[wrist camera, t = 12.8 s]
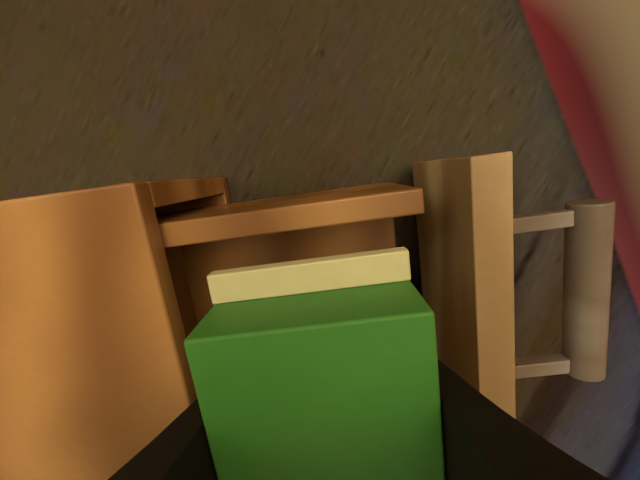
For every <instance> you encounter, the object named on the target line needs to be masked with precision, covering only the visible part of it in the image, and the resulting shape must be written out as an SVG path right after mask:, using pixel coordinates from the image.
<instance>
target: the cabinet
mask: <svg viewBox="0 0 640 480" xmlns="http://www.w3.org/2000/svg"><path fill="white" fill-rule="evenodd" d="M229 203H231V201H230V196H229V190H228V185H227V180H226V178H225V177H216V178H197V179H178V180H158V181H141V182H128V183H121V184H114V185H107V186H100V187H93V188H86V189H79V190H72V191H65V192H59V193H52V194H45V195H38V196H31V197H24V198H17V199H10V200H3V201H0V480H108V479H109V478H110V477H111V476H112V475H113V474H114V473H116V472H117V471H118V470H119V469H120V468H121V467H122V466H124V465H125V464H126V463H127V462H128V461H129V460H131V459H132V458H133V457H134V456H135V455H136V454H137V453H139V452H140V451H141V450H142V449H143V448H144V447H145V446H147V445H148V444H149V443H150V442H151V441H152V440H153V439H154V438H155V437H157V436H158V435H159V434H160V433H161V432H162V431H163V430H164V429H165V428H166V427H167V426H168V425H169V424H170V423H172V422H173V421H174V420H175V419H176V418H177V417H178V416H179V415H180V414H181V413H182V412H183V411H184V410H185V409H186V408H188V407H189V406H190V405H191V404H192V403H193V402H194V401H195V400H196V399H197V395H196V391H195V387H194V383H193V379H192V375H191V371H190V367H189V363H188V359H187V355H186V351H185V347H184V340H185V339H186V335H185V330H184V326H183V322H182V318H181V314H180V310H179V306H178V302H177V298H176V294H175V290H174V286H173V282H172V278H171V274H170V270H169V266H168V262H167V258H166V254H165V249H164V245H163V241H162V237H161V233H160V229H159V225H158V221H157V217H156V215H157V214H161V213H165V212H172V211H179V210H186V209H193V208H201V207H208V206H215V205H222V204H229Z"/></svg>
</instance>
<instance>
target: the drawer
mask: <svg viewBox="0 0 640 480" xmlns="http://www.w3.org/2000/svg"><path fill="white" fill-rule="evenodd" d="M412 165H413V178H414V187H413V186H407V185H401V184H396V183H390V182H381V183H374V184H367V185H360V186H352V187H345V188H338V189H331V190H323V191H316V192H309V193H302V194H294V195H287V196H280V197H273V198H266V199H258V200H251V201H244V202H237V203H229V204H222V205H215V206H208V207H201V208H193V209H186V210H179V211H172V212H165V213H161V214H157V215H156V217H157V221H158V225H159V229H160V233H161V237H162V241H163V245H164V249H165V254H166V258H167V262H168V266H169V270H170V274H171V278H172V282H173V286H174V290H175V294H176V298H177V302H178V306H179V310H180V314H181V318H182V322H183V326H184V330H185V335H186V338H187V337H188V335H189V334H190V333H191V332H192V331H193V330H194V328H195V327H196V326H197V325H198V324H199V322H200V321H201V320H202V319H203V318H204V316H205V315H206V314H207V313H208V312H209V311H210V309H211V308H212V307H213V306H214V305H215V304H213V303H212V299H211V295H210V290H209V286H208V282H207V276H208V275H209V274H210V273H211V272H212V271H217V270H225V269H233V268H241V267H248V266H256V265H264V264H272V263H280V262H287V261H295V260H303V259H311V258H319V257H326V256H334V255H342V254H350V253H358V252H365V251H373V250H381V249H389V248H396V239H395V228H394V218H395V217H403V216H410V215H416V218H417V231H418V245H419V258H420V271H421V284H422V297H423V298H424V300H425V301H426V302H427V304H428V305H429V306H430V308H431V309H432V310H433V312H434V314H435V328H436V343H437V358H438V359H439V360H440V361H441V362H443V363H444V364H445V365H446V366H448V367H449V368H450V369H451V370H452V371H454V372H455V373H456V374H457V375H459V376H460V377H461V378H462V379H464V380H465V381H466V382H467V383H469V384H470V385H471V386H472V387H474V388H475V389H476V390H477V391H479V392H480V393H481V394H482V395H484V396H485V397H486V398H488V399H489V400H490V401H492V402H493V403H494V404H496V405H497V406H498V407H500V408H501V409H502V410H504V411H505V412H506V413H508V414H509V415H511V416H512V417H513V418H515V419H516V416H515V379H520V378H529V377H539V376H548V375H558V374H568V375H569V376H571V377H573V378H576V379H578V380H582V381H587V382H599V381H602V380H604V379H605V377H606V365H607V347H608V329H609V311H610V293H611V275H612V257H613V239H614V221H615V201H614V200H610V199H580V200H573V201H569V202H566V203H565V209H559V210H551V211H543V212H536V213H528V214H520V215H513V159H512V151H507V152H498V153H489V154H480V155H471V156H463V157H454V158H445V159H436V160H429V161H422V162H415V163H413V164H412ZM558 228H564V268H563V313H562V354H561V353H554V354H545V355H535V356H526V357H517V358H515V331H514V245H513V234H519V233H527V232H535V231H543V230H550V229H558Z"/></svg>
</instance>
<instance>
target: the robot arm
mask: <svg viewBox="0 0 640 480" xmlns="http://www.w3.org/2000/svg"><path fill="white" fill-rule="evenodd" d="M438 373H439V387H440V402H441V417H442V432H443V447H444V461H445V476H446V480H609V479H607V478H606V477H604V476H603V475H601V474H599V473H598V472H596V471H594V470H593V469H591V468H589V467H588V466H586V465H584V464H583V463H581V462H579V461H578V460H576V459H574V458H573V457H571V456H570V455H568V454H567V453H565V452H563V451H562V450H560V449H559V448H557V447H556V446H554V445H553V444H551V443H550V442H548V441H547V440H545V439H544V438H542V437H541V436H539V435H538V434H536V433H535V432H534V431H532V430H531V429H529V428H528V427H526V426H525V425H523V424H522V423H520V422H519V421H518V420H516V419H515V418H513V417H512V416H511V415H509V414H508V413H506V412H505V411H504V410H502V409H501V408H500V407H498V406H497V405H496V404H494V403H493V402H492V401H490V400H489V399H488V398H486V397H485V396H484V395H482V394H481V393H480V392H479V391H477V390H476V389H475V388H474V387H472V386H471V385H470V384H469V383H467V382H466V381H465V380H464V379H462V378H461V377H460V376H459V375H457V374H456V373H455V372H454V371H452V370H451V369H450V368H449V367H448V366H446V365H445V364H444V363H443V362H441V361H440V360H439V359H438ZM108 480H218V479H217V475H216V471H215V467H214V463H213V459H212V455H211V451H210V447H209V443H208V439H207V435H206V431H205V427H204V423H203V419H202V415H201V411H200V407H199V403H198V399H196V400H195V401H194V402H193V403H192V404H191V405H190V406H189V407H188V408H186V409H185V410H184V411H183V412H182V413H181V414H180V415H179V416H178V417H177V418H176V419H175V420H174V421H173V422H172V423H170V424H169V425H168V426H167V427H166V428H165V429H164V430H163V431H162V432H161V433H160V434H159V435H158V436H157V437H155V438H154V439H153V440H152V441H151V442H150V443H149V444H148V445H147V446H145V447H144V448H143V449H142V450H141V451H140V452H139V453H137V454H136V455H135V456H134V457H133V458H132V459H131V460H129V461H128V462H127V463H126V464H125V465H124V466H122V467H121V468H120V469H119V470H118V471H117V472H116V473H114V474H113V475H112V476H111V477H110V478H109V479H108Z"/></svg>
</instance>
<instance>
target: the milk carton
mask: <svg viewBox="0 0 640 480" xmlns="http://www.w3.org/2000/svg"><path fill="white" fill-rule="evenodd" d="M410 280H411V270H410V258H409V251H408V250H407V249H406V248H405V247H397V248H389V249H381V250H373V251H365V252H358V253H350V254H342V255H334V256H326V257H319V258H311V259H303V260H295V261H287V262H280V263H272V264H264V265H256V266H248V267H241V268H233V269H225V270H217V271H212V272H211V273H210V274H209V275H208V276H207V282H208V286H209V290H210V295H211V299H212V303H213V304H215V305H214V306H213V307H212V308H211V309H210V311H209V312H208V313H207V314H206V315H205V316H204V318H203V319H202V320H201V321H200V322H199V324H198V325H197V326H196V327H195V328H194V330H193V331H192V332H191V333H190V334H189V335H188V337H187V338H186V339H185V340H184V347H185V351H186V355H187V359H188V363H189V367H190V371H191V375H192V379H193V383H194V387H195V391H196V395H197V399H198V403H199V407H200V411H201V415H202V419H203V423H204V427H205V431H206V435H207V439H208V443H209V447H210V451H211V455H212V459H213V463H214V467H215V471H216V475H217V479H218V480H446V476H445V461H444V447H443V432H442V417H441V402H440V387H439V373H438V358H437V343H436V328H435V314H434V312H433V310H432V309H431V308H430V306H429V305H428V304H427V302H426V301H425V300H424V298H423V297H422V296H421V294H420V293H419V292H418V291H417V289H416V288H415V287H414V285H413V284H412V283H411V281H410Z"/></svg>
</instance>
